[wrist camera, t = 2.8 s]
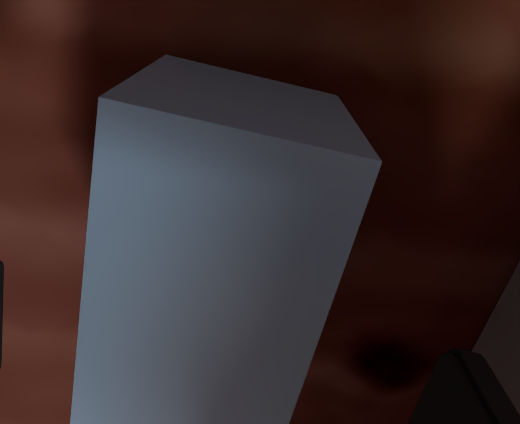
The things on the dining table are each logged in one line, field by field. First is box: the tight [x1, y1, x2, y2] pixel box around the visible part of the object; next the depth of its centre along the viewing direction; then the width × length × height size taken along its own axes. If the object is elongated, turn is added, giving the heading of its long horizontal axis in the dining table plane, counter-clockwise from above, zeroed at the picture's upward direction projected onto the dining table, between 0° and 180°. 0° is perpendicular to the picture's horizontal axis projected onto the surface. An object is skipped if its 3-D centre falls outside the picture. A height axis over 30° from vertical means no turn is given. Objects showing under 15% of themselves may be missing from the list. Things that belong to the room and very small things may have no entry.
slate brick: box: [70, 55, 382, 424], centre depth 13 cm, size 8×5×6 cm, turn 167°
